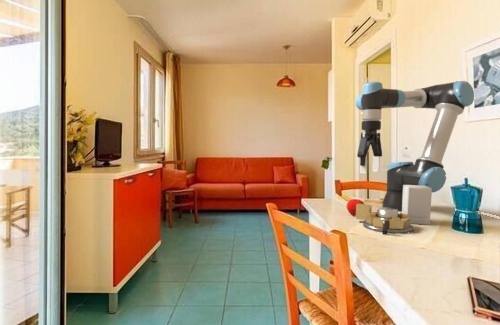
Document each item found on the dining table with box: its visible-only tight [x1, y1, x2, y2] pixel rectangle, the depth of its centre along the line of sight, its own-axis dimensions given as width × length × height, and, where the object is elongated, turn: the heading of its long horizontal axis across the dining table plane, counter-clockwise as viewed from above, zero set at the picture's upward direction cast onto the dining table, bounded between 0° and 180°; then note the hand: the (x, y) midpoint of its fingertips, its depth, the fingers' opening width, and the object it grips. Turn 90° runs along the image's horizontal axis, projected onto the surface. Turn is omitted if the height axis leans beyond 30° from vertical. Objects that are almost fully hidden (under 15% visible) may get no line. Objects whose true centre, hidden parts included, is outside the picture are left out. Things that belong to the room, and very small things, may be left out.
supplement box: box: [401, 185, 433, 226], centre depth 136 cm, size 9×9×15 cm
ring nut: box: [355, 203, 411, 229], centre depth 129 cm, size 20×15×6 cm
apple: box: [346, 198, 365, 217], centre depth 147 cm, size 8×8×7 cm
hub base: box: [362, 207, 414, 236], centre depth 127 cm, size 20×18×7 cm
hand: (369, 172), depth 137 cm, fingers open, 12 cm apart
